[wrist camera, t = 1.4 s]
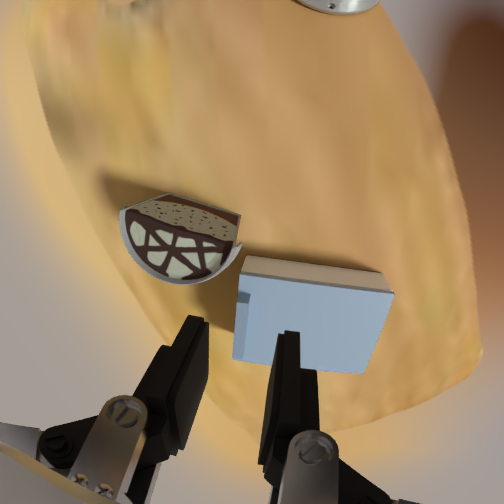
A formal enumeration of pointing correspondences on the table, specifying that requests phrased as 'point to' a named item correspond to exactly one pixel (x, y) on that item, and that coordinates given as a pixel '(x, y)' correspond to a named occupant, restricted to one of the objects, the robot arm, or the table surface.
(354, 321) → the lid
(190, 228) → the food container
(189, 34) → the table surface
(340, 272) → the white rectangular tray
